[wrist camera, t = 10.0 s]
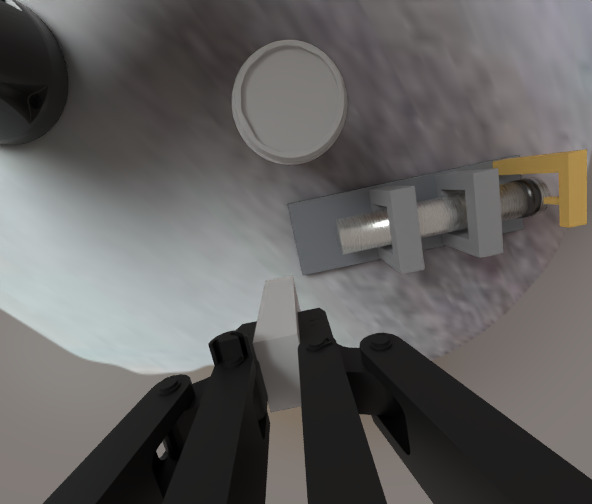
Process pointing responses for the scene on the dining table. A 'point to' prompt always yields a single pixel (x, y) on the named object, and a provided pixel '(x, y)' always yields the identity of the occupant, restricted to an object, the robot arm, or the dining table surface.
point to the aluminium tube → (439, 215)
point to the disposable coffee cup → (289, 102)
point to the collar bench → (406, 193)
